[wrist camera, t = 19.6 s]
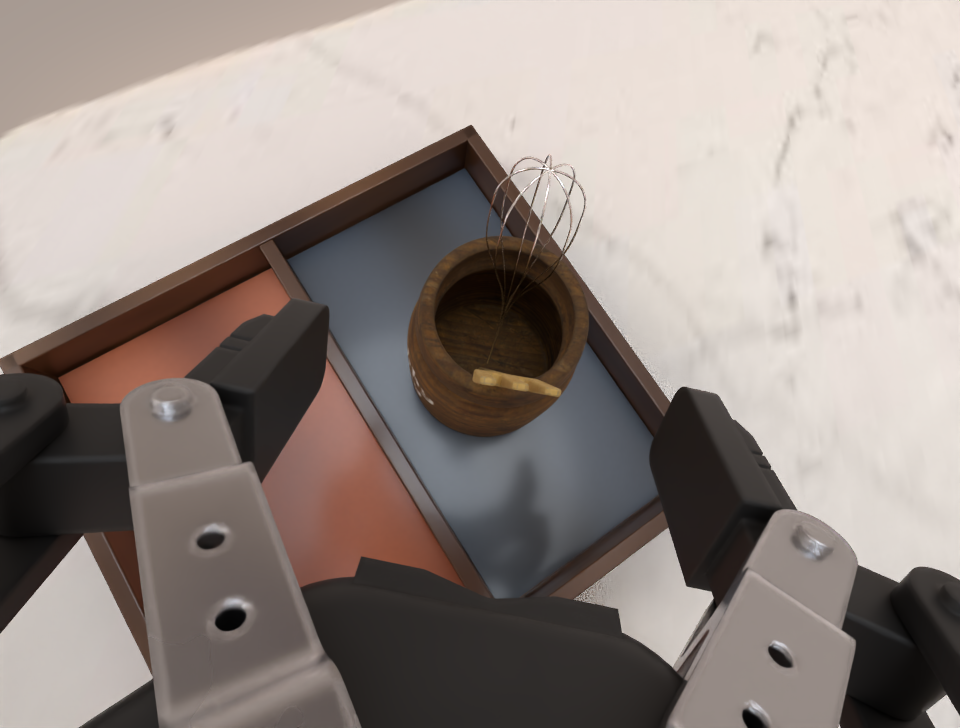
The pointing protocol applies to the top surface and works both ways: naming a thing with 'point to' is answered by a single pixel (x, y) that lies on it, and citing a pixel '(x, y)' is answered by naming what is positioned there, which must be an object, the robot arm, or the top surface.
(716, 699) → the robot arm
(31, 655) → the top surface
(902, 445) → the top surface
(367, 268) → the sorting tray
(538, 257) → the utensil holder
